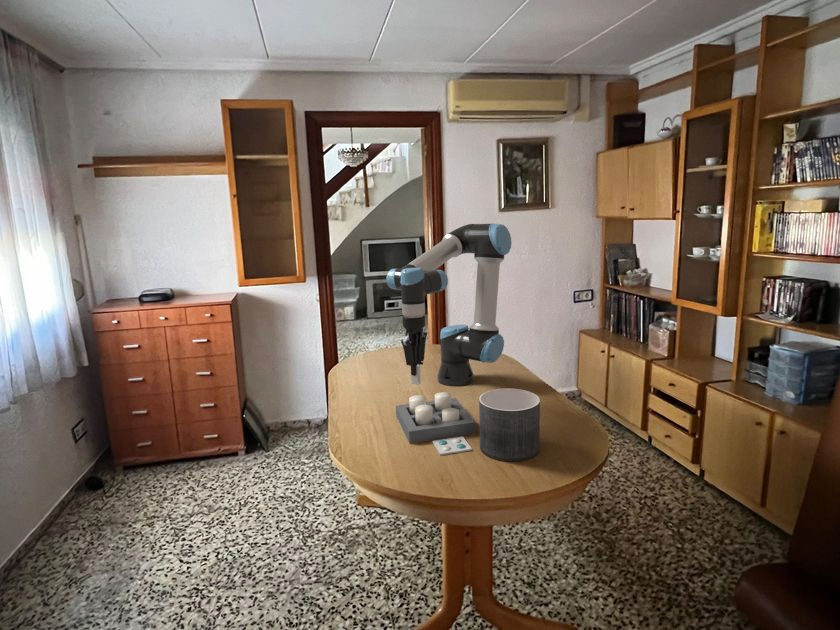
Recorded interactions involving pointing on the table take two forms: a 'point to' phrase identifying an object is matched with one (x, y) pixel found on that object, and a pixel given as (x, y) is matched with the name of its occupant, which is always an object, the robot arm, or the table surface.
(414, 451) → the table surface
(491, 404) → the planter
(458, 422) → the board
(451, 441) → the card
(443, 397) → the button
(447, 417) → the button
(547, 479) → the table surface
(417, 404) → the button
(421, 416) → the button
